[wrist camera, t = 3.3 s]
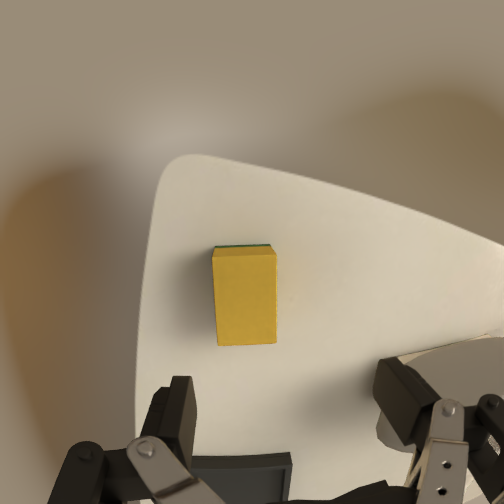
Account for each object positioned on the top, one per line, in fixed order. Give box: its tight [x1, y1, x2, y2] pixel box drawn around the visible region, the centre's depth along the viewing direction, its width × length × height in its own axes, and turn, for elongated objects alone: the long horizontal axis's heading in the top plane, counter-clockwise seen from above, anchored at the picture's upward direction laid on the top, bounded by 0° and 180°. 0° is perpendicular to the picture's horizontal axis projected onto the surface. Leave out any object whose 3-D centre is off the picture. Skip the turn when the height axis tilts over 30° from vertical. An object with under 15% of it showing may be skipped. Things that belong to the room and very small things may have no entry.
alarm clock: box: [376, 334, 504, 453], centre depth 23 cm, size 23×6×13 cm, turn 91°
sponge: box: [212, 244, 277, 346], centre depth 23 cm, size 7×4×4 cm, turn 1°
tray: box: [190, 452, 293, 504], centre depth 31 cm, size 20×14×2 cm
